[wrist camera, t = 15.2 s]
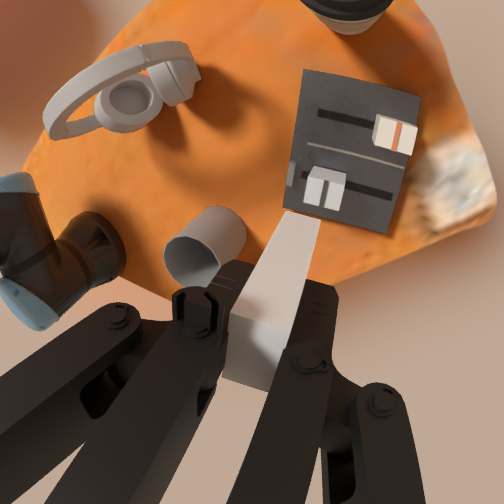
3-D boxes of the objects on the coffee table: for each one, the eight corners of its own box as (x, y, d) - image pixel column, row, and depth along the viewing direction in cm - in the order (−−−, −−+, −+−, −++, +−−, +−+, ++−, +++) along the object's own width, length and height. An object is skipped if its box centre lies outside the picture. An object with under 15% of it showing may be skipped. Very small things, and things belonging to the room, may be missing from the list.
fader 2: (371, 138, 32) (374, 145, 28) (376, 113, 31) (380, 116, 26) (403, 147, 31) (411, 156, 27) (409, 122, 30) (418, 127, 26)
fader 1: (309, 189, 38) (302, 203, 34) (314, 165, 36) (307, 176, 32) (341, 196, 37) (338, 212, 33) (346, 173, 35) (344, 185, 31)
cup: (235, 264, 50) (209, 302, 42) (190, 239, 50) (158, 272, 42) (255, 222, 45) (230, 256, 37) (206, 196, 46) (171, 223, 37)
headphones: (133, 138, 44) (32, 178, 28) (114, 96, 42) (10, 120, 25) (236, 81, 36) (140, 83, 19) (212, 31, 33) (108, 6, 17)
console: (285, 202, 42) (280, 210, 40) (305, 70, 33) (301, 68, 30) (385, 227, 39) (386, 238, 37) (418, 97, 30) (423, 97, 27)
